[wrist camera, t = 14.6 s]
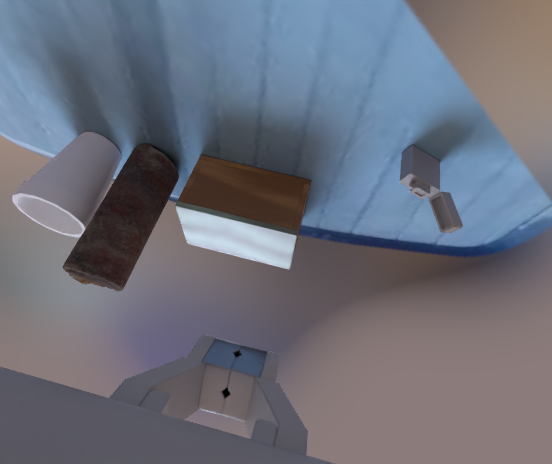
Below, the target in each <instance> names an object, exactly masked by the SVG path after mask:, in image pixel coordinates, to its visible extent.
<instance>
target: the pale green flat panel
mask: <svg viewBox="0 0 552 464" xmlns="http://www.w3.org/2000/svg"><path fill="white" fill-rule="evenodd" d="M175 207H176V210H177V213H178V216H179V219H180V222H181V225H182V228H183V232H184V235H185V238H186V241H187V244H191V245H195V246H199V247H203V248H207V249H211V250H215V251H219V252H223V253H227V254H230V255H235V256H238V257H242V258H246V259H250V260H254V261H258V262H263V263H266V264H270V265H274V266H278V267H282V268H286V269H290V267H291V263H292V258H293V253H294V249H295V244H296V240H297V235H298V230H294V229H290V228H286V227H282V226H278V225H274V224H270V223H266V222H261V221H257V220H253V219H249V218H245V217H241V216H237V215H233V214H229V213H225V212H221V211H216V210H212V209H208V208H204V207H200V206H196V205H192V204H188V203H184V202H180V201H177V203H176V205H175Z"/></svg>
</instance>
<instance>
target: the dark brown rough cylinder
mask: <svg viewBox="0 0 552 464" xmlns="http://www.w3.org/2000/svg"><path fill="white" fill-rule="evenodd" d="M178 178H179V174H178V171H177V170H176V168H175V166H174V164H173V163H172V162H171V161H170V160H169V159H168V158H167V157H166V155H165V154H163V153H161V152H159V151H158V150H156V149H155V148H153V147H152V146H151V145H148V144H142V145H139V146H137V147H136V148H134V150H133V151H132V153H131V155H130V156H129V158H128V159H127V161H126V163H125V164H124V166H123V168H122V169H121V171H120V173H119V174H118V176H117V178H116V179H115V181H114V183H113V184H112V186H111V188H110V190H109V191H108V193H107V195H106V196H105V198H104V200H103V201H102V203H101V204H100V206H99V208H98V209H97V211H96V212H95V214H94V216H93V218H92V219H91V221H90V222H89V224H88V226H87V227H86V229H85V231H84V232H83V234H82V236H81V237H80V239H79V240H78V242H77V244H76V245H75V247H74V249H73V250H72V252H71V253H70V255H69V257H68V258H67V260H66V262H65V263H64V265H63V269H64V270H65V271H66V272H68V273H69V275H70V276H71V277H73V278H74V279H75V280H77V281H79V282H80V283H83V284H91V283H92V284H94V285H98V286H101V287H108V288H110V289H114V290H116V291H121V290H123V288H124V287H125V285H126V282H127V280H128V278H129V276H130V274H131V272H132V271H133V269H134V266H135V264H136V262H137V260H138V258H139V256H140V255H141V252H142V250H143V248H144V246H145V244H146V242H147V240H148V238H149V236H150V234H151V232H152V230H153V228H154V226H155V224H156V222H157V221H158V219H159V217H160V215H161V213H162V211H163V209H164V207H165V205H166V203H167V201H168V199H169V197H170V195H171V193H172V191H173V189H174V187H175V185H176V183H177V181H178Z"/></svg>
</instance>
